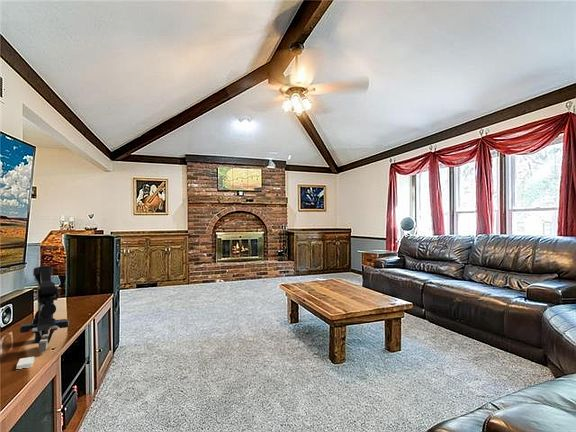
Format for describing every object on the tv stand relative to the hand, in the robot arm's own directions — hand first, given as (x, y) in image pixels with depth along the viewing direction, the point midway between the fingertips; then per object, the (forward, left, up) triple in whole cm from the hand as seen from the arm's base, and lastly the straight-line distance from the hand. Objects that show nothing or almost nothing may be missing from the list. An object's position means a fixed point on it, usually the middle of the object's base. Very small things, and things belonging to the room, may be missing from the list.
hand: (44, 343), depth 157 cm
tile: (+14, -5, -2) cm, 15 cm away
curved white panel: (+2, 0, -1) cm, 2 cm away
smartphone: (-45, +1, -3) cm, 45 cm away
